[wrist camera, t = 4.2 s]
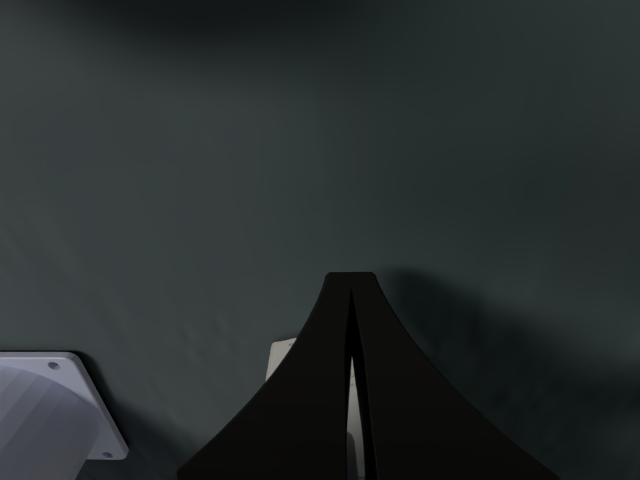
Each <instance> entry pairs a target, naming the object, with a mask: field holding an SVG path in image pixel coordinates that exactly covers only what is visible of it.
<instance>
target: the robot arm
mask: <svg viewBox="0 0 640 480" xmlns="http://www.w3.org/2000/svg"><path fill="white" fill-rule="evenodd" d="M352 361H353V368H354V376H355V383H356V391H357V398H358V405H359V413H360V420H361V428H362V438H363V450H364V471H365V480H561V479H560V478H559V477H558V476H557V475H555V474H554V473H553V472H552V471H550V470H549V469H548V468H546V467H545V466H544V465H542V464H541V463H540V462H538V461H537V460H536V459H534V458H533V457H532V456H531V455H529V454H528V453H527V452H525V451H524V450H523V449H521V448H520V447H519V446H517V445H516V444H515V443H514V442H513V441H511V440H510V439H509V438H508V437H507V436H506V435H504V434H503V433H502V432H501V431H500V430H499V429H497V428H496V427H495V426H494V425H493V424H492V423H490V422H489V421H488V420H487V419H486V418H485V417H484V416H483V415H482V414H481V413H480V412H479V411H478V410H477V409H475V408H474V407H473V406H472V405H471V404H470V403H469V402H468V401H467V400H466V399H465V398H464V397H463V396H462V395H461V394H460V393H459V392H458V391H457V390H456V389H455V388H454V387H453V386H452V385H451V384H450V383H449V382H448V381H447V380H446V379H445V378H444V377H443V376H442V374H441V373H440V372H439V371H438V370H437V369H436V368H435V366H434V365H433V364H432V363H431V362H430V361H429V359H428V358H427V357H426V356H425V355H424V353H423V352H422V351H421V350H420V348H419V347H418V346H417V344H416V343H415V342H414V340H413V339H412V338H411V336H410V335H409V333H408V332H407V331H406V329H405V328H404V326H403V325H402V323H401V322H400V320H399V319H398V317H397V315H396V314H395V312H394V311H393V309H392V308H391V306H390V304H389V302H388V301H387V299H386V297H385V295H384V293H383V291H382V289H381V287H380V285H379V283H378V281H377V278H376V275H375V274H374V273H373V272H329V273H328V274H327V275H326V276H325V280H324V284H323V287H322V289H321V292H320V295H319V297H318V299H317V301H316V304H315V306H314V308H313V310H312V312H311V314H310V316H309V318H308V320H307V321H306V323H305V325H304V327H303V328H302V330H301V332H300V333H299V335H298V337H297V338H296V340H295V342H294V343H293V345H292V347H291V348H290V350H289V351H288V353H287V354H286V356H285V357H284V358H283V360H282V361H281V363H280V364H279V365H278V367H277V368H276V369H275V371H274V372H273V373H272V375H271V376H270V377H269V378H268V380H267V381H266V382H265V383H264V384H263V386H262V387H261V388H260V389H259V391H258V392H257V393H256V394H255V395H254V396H253V398H252V399H251V400H250V401H249V402H248V403H247V404H246V405H245V406H244V407H243V408H242V409H241V410H240V411H239V413H238V414H237V415H236V416H235V417H234V418H233V419H232V420H231V421H230V422H229V423H228V424H227V425H226V426H225V427H224V428H223V429H222V430H221V431H220V432H219V433H218V434H217V435H216V436H215V437H214V438H213V439H212V440H210V441H209V442H208V443H207V444H206V445H205V446H204V447H203V448H201V449H200V450H199V451H198V452H197V453H196V454H195V455H194V456H192V457H191V458H190V459H189V460H188V461H187V462H186V463H185V464H184V465H182V466H181V467H180V468H179V469H178V470H177V471H176V472H175V474H174V475H173V477H172V479H171V480H347V423H348V409H349V394H350V379H351V364H352ZM128 452H129V449H128V447H127V445H126V443H125V441H124V439H123V437H122V436H121V434H120V432H119V430H118V428H117V426H116V425H115V423H114V421H113V419H112V417H111V415H110V413H109V412H108V410H107V408H106V406H105V404H104V402H103V400H102V399H101V397H100V395H99V393H98V391H97V389H96V387H95V386H94V384H93V382H92V380H91V378H90V376H89V374H88V373H87V371H86V369H85V367H84V365H83V363H82V362H81V360H80V358H79V357H78V356H77V355H75V354H73V353H70V352H0V480H75V479H76V477H77V475H78V473H79V472H80V470H81V468H82V466H83V464H84V463H85V461H86V459H99V460H122V459H124V458H126V456H127V454H128Z"/></svg>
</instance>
